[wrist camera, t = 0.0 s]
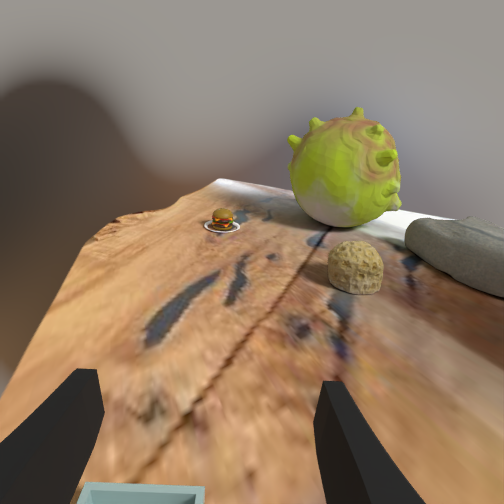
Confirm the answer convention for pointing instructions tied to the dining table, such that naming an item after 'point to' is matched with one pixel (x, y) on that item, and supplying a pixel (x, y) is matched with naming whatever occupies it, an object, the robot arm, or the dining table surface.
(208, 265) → the dining table surface
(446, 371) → the dining table surface
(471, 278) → the stone
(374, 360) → the dining table surface
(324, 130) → the monster head
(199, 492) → the tray
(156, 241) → the dining table surface
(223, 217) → the hamburger
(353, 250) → the rock
